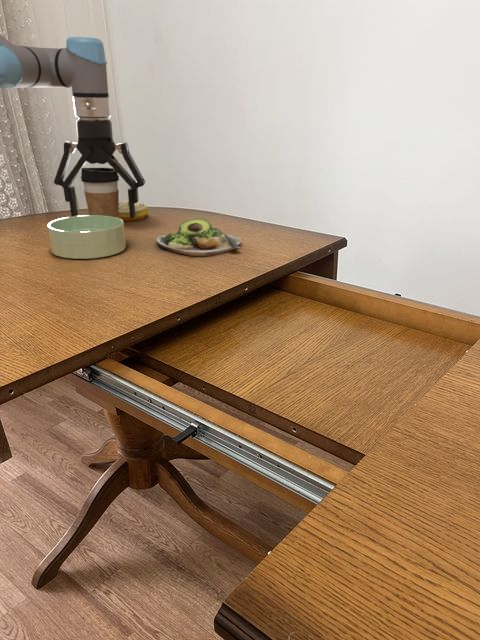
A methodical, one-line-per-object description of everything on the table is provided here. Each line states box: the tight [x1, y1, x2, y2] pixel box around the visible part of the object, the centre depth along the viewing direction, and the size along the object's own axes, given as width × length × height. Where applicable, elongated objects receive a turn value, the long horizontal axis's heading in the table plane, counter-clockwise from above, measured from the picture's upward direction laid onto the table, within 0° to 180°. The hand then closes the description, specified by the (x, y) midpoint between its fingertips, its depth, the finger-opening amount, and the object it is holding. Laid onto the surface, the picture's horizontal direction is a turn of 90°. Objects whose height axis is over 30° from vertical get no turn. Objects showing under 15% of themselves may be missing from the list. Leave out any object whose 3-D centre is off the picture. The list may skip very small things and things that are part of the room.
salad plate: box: [155, 218, 241, 257], centre depth 120 cm, size 19×18×5 cm
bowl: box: [47, 214, 127, 260], centre depth 115 cm, size 15×15×6 cm
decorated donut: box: [119, 201, 149, 222], centre depth 144 cm, size 10×11×4 cm
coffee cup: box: [80, 167, 120, 218], centre depth 127 cm, size 8×8×15 cm
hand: (103, 216), depth 128 cm, fingers open, 13 cm apart
